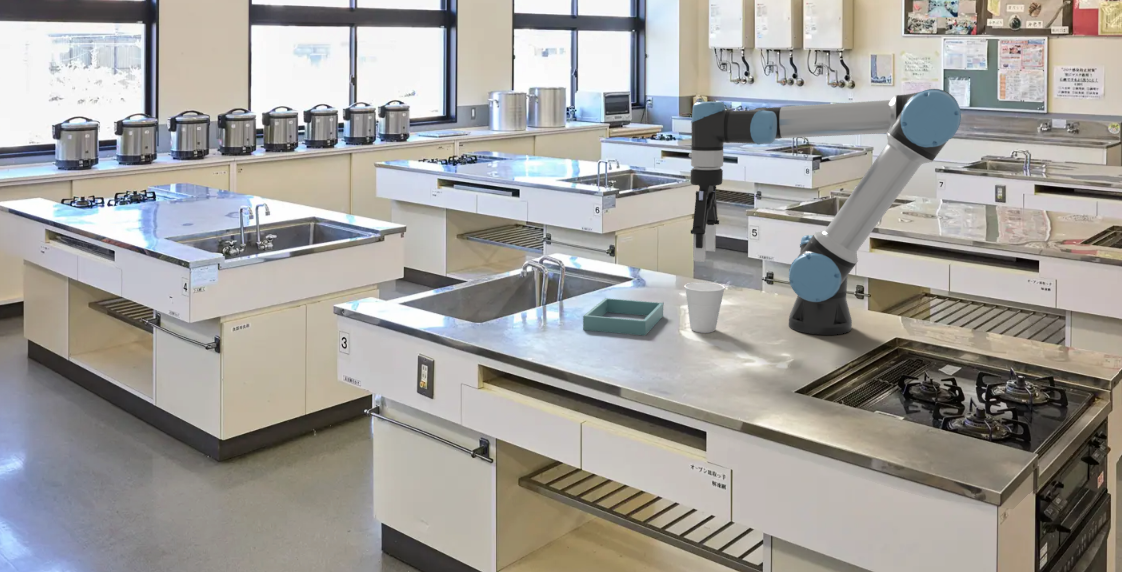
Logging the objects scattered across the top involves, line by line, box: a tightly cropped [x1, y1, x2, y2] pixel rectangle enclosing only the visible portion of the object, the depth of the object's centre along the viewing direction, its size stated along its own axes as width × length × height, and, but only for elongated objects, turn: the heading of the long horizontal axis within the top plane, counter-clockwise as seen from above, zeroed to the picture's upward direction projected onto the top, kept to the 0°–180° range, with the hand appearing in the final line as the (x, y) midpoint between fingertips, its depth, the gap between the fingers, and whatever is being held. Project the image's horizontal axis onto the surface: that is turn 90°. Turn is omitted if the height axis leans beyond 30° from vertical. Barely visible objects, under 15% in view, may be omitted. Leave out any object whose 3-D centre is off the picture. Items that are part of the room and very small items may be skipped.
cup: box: [683, 281, 726, 334], centre depth 243 cm, size 10×10×11 cm
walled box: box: [582, 297, 665, 336], centre depth 250 cm, size 16×20×4 cm
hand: (704, 256), depth 240 cm, fingers open, 13 cm apart
